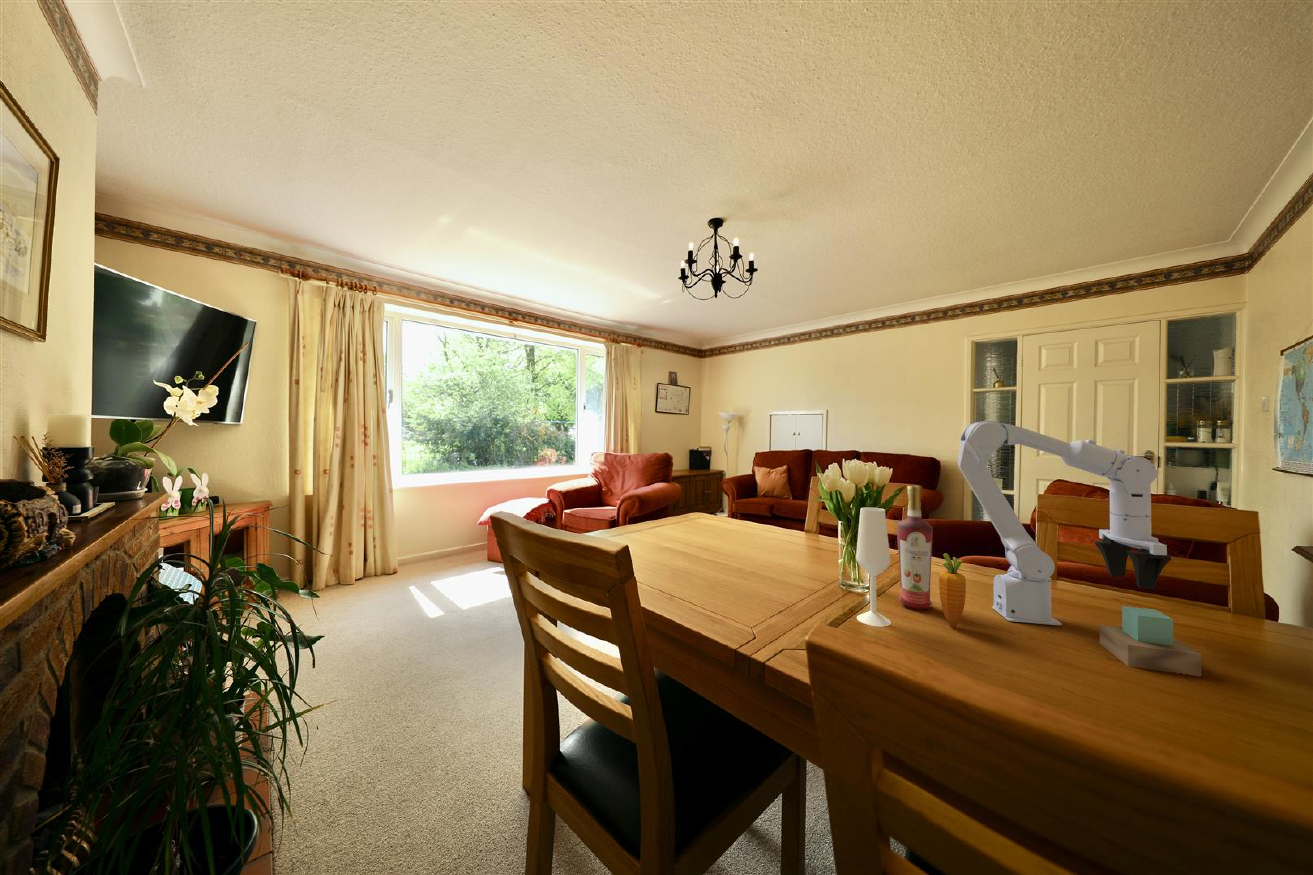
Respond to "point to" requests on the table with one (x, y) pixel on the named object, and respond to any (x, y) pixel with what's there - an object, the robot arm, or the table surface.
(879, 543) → the champagne flute
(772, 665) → the table surface
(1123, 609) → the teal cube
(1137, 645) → the walnut base block
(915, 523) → the liquor
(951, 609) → the carrot
